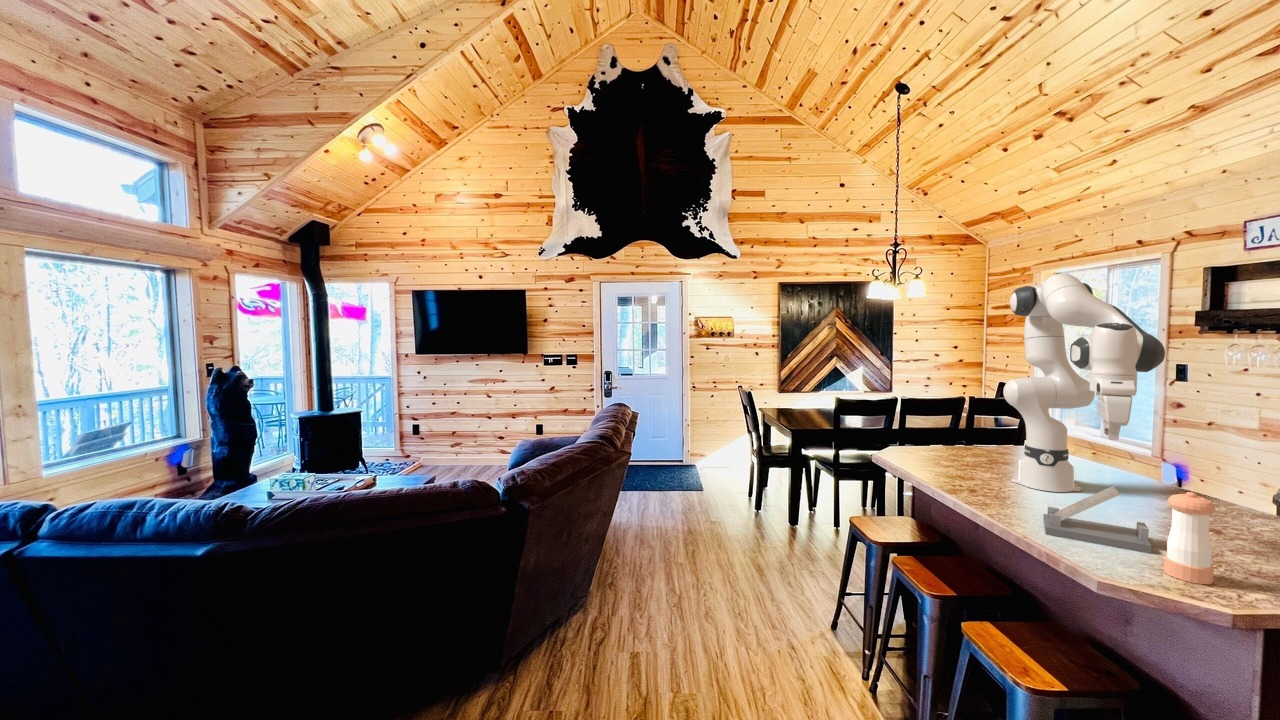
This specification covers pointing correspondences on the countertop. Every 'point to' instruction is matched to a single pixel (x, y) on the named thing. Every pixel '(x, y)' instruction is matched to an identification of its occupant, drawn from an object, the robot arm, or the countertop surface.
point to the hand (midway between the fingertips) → (1111, 437)
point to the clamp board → (1097, 532)
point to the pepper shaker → (1190, 539)
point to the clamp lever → (1087, 503)
